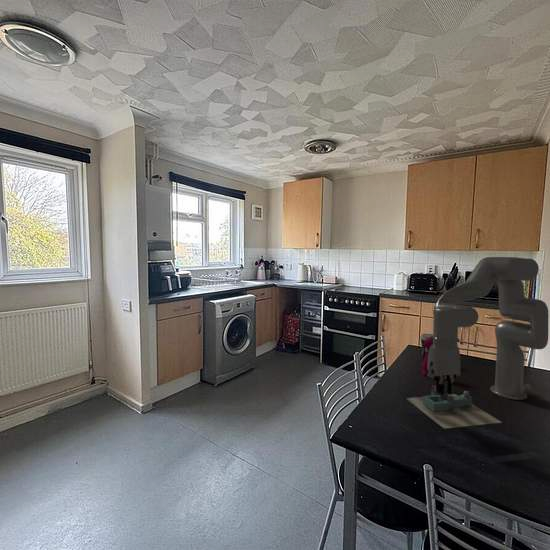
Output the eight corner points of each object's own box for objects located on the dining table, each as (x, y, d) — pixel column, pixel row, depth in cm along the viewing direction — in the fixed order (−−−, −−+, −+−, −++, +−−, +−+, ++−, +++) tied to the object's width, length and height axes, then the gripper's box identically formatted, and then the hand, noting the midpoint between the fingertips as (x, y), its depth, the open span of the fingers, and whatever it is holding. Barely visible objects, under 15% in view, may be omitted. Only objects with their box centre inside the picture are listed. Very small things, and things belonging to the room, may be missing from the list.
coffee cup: (422, 364, 167) (423, 337, 166) (417, 358, 177) (418, 332, 176) (441, 365, 166) (442, 338, 165) (434, 359, 175) (435, 333, 174)
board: (455, 396, 129) (456, 381, 128) (502, 425, 107) (503, 407, 107) (405, 401, 125) (406, 385, 125) (444, 431, 103) (444, 412, 103)
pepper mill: (439, 378, 148) (441, 338, 147) (423, 377, 150) (425, 337, 148) (435, 372, 155) (436, 334, 154) (420, 371, 157) (421, 333, 155)
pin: (444, 396, 110) (444, 377, 109) (449, 399, 107) (450, 380, 107) (437, 397, 110) (438, 378, 109) (442, 400, 107) (443, 381, 106)
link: (464, 400, 123) (464, 388, 123) (477, 408, 117) (477, 395, 116) (423, 403, 120) (423, 391, 120) (433, 411, 114) (434, 398, 114)
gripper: (457, 337, 112) (455, 386, 113) (417, 340, 109) (416, 390, 111) (473, 344, 105) (471, 395, 106) (431, 347, 102) (430, 400, 103)
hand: (443, 392), depth 108 cm, fingers closed on pin, 2 cm apart
